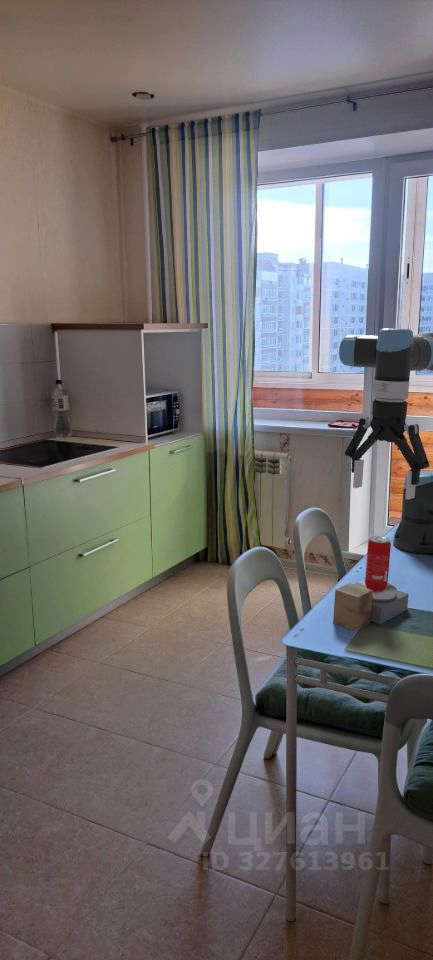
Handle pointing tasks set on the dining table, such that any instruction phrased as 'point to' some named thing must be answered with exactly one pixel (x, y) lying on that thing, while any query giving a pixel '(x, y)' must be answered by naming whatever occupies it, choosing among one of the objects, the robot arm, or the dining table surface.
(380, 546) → the beverage can
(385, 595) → the scale pan
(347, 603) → the walnut block
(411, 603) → the dining table surface
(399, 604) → the scale base
